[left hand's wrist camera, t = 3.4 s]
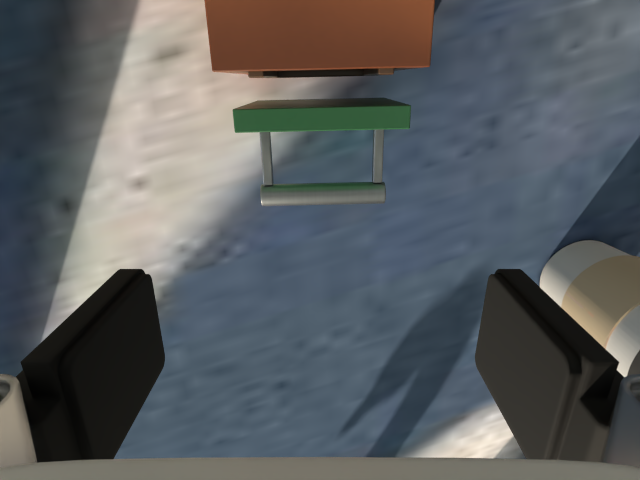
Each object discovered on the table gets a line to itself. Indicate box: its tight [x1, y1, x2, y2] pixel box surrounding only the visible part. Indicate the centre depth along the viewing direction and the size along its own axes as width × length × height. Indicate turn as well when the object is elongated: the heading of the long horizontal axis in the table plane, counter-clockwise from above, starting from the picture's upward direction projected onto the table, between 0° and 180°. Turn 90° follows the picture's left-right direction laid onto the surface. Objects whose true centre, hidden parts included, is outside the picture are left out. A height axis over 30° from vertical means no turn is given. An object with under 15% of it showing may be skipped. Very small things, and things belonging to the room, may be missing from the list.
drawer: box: [233, 68, 411, 206], centre depth 24 cm, size 22×9×9 cm, turn 1°
